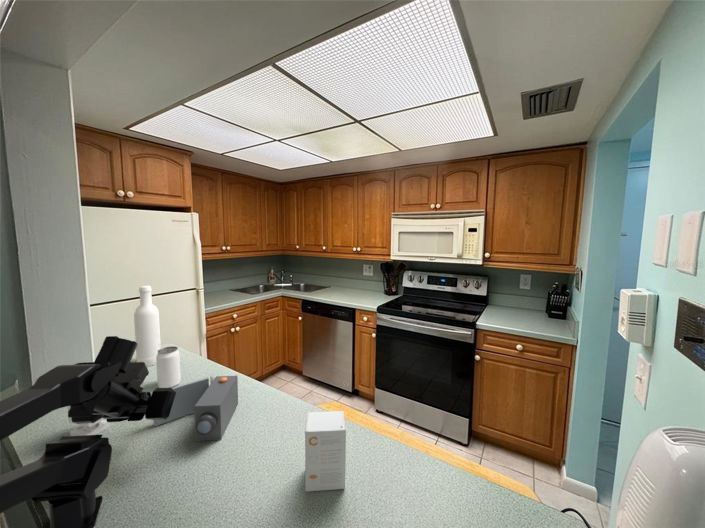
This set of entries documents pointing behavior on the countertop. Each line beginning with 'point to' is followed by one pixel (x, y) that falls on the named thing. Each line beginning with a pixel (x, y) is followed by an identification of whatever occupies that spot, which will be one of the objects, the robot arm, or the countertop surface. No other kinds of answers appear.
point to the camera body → (216, 407)
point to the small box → (325, 451)
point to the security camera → (90, 426)
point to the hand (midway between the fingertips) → (143, 413)
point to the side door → (186, 399)
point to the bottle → (147, 328)
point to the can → (168, 367)
